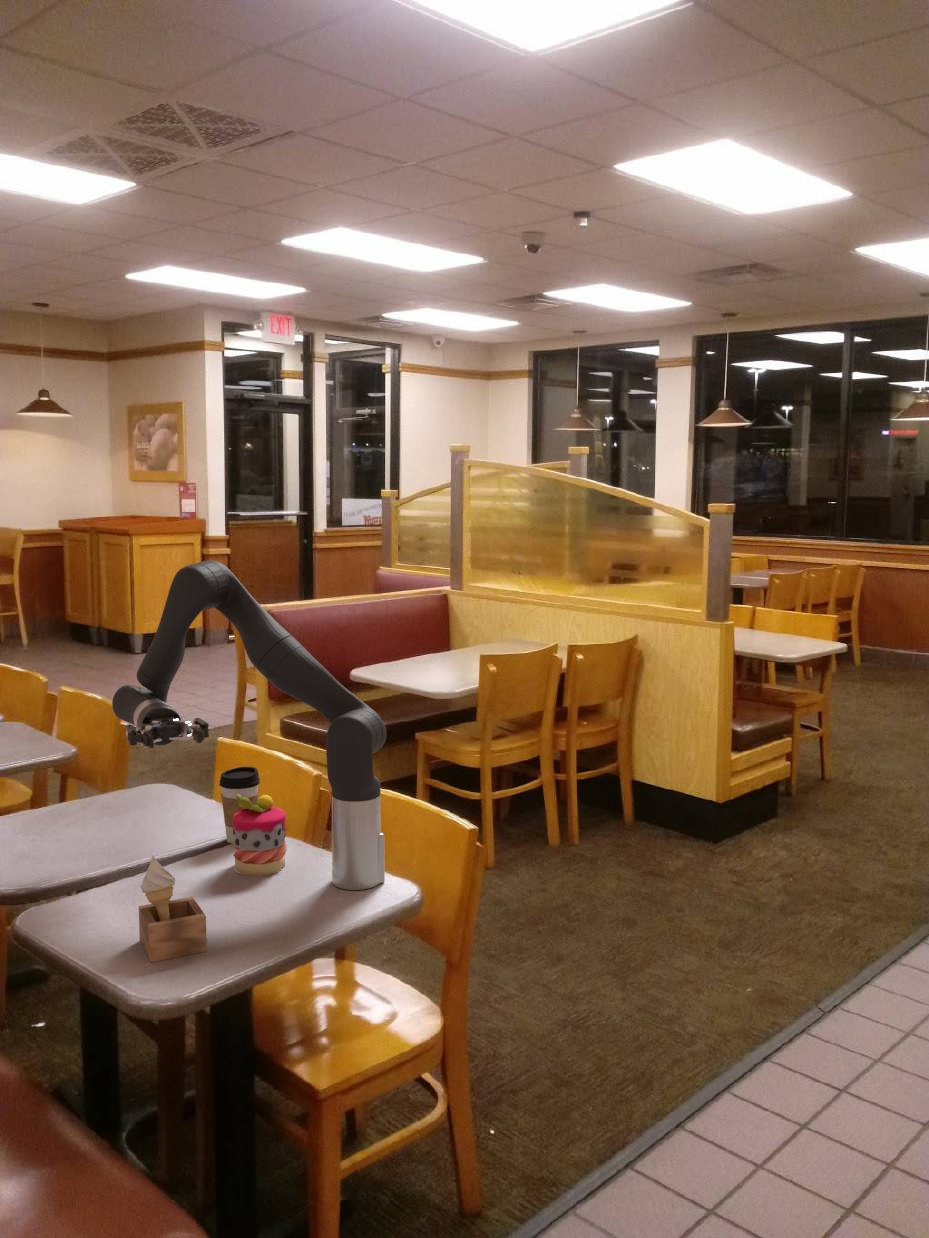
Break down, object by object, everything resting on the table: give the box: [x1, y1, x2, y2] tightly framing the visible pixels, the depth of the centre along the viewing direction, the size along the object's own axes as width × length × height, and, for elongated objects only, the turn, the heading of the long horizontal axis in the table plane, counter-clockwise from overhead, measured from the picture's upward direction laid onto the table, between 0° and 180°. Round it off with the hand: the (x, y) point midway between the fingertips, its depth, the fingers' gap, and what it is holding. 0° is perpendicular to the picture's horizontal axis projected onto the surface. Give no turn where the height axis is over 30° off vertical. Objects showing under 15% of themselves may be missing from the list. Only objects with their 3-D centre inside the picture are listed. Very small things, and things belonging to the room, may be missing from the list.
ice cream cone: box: [140, 855, 176, 921], centre depth 172 cm, size 6×6×15 cm
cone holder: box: [138, 896, 208, 963], centre depth 171 cm, size 9×9×6 cm
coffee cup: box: [218, 766, 261, 845], centre depth 221 cm, size 8×8×15 cm
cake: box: [232, 794, 288, 877], centre depth 206 cm, size 10×11×15 cm
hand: (176, 740), depth 186 cm, fingers open, 8 cm apart
